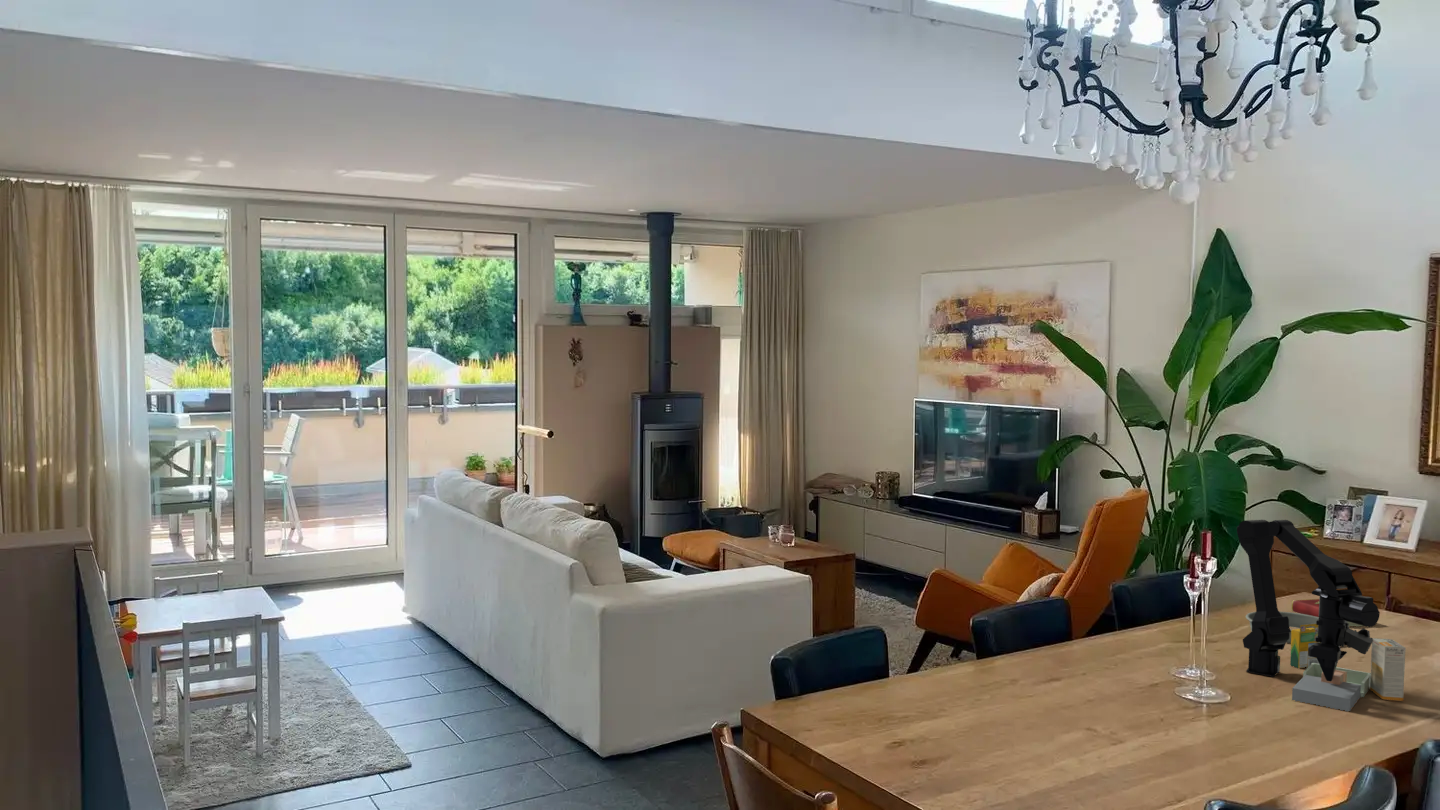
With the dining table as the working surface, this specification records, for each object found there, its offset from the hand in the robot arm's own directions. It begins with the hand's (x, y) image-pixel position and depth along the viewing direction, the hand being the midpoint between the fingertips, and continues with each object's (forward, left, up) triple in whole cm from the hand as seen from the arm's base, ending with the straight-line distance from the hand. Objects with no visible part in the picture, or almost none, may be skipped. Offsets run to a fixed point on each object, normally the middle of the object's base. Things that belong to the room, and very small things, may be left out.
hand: (1329, 680), depth 261 cm
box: (0, +10, -4) cm, 11 cm away
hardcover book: (-15, +89, -5) cm, 90 cm away
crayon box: (-10, +24, -4) cm, 27 cm away
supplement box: (+11, +10, -4) cm, 15 cm away
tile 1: (0, +3, -1) cm, 3 cm away
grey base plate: (0, -3, -4) cm, 5 cm away
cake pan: (-20, +57, -4) cm, 61 cm away
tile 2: (0, +7, -1) cm, 7 cm away
